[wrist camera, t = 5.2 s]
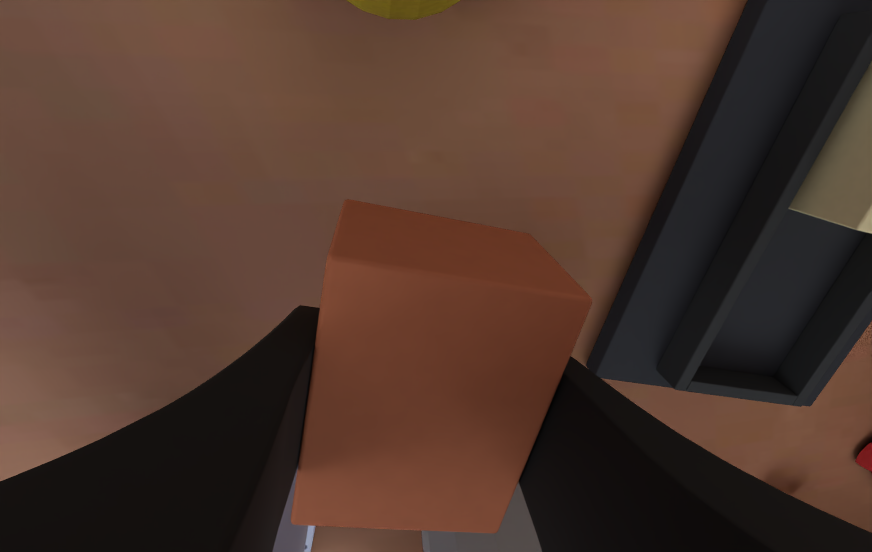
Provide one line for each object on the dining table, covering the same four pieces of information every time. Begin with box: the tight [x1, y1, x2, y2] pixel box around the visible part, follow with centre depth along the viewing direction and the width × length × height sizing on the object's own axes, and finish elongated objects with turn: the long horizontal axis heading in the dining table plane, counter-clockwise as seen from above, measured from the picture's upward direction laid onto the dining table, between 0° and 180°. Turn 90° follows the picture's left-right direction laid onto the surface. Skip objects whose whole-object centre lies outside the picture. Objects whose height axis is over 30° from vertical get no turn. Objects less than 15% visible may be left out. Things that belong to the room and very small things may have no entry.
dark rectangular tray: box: [586, 0, 872, 407], centre depth 18 cm, size 17×13×2 cm
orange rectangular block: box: [291, 199, 592, 533], centre depth 10 cm, size 6×4×4 cm
